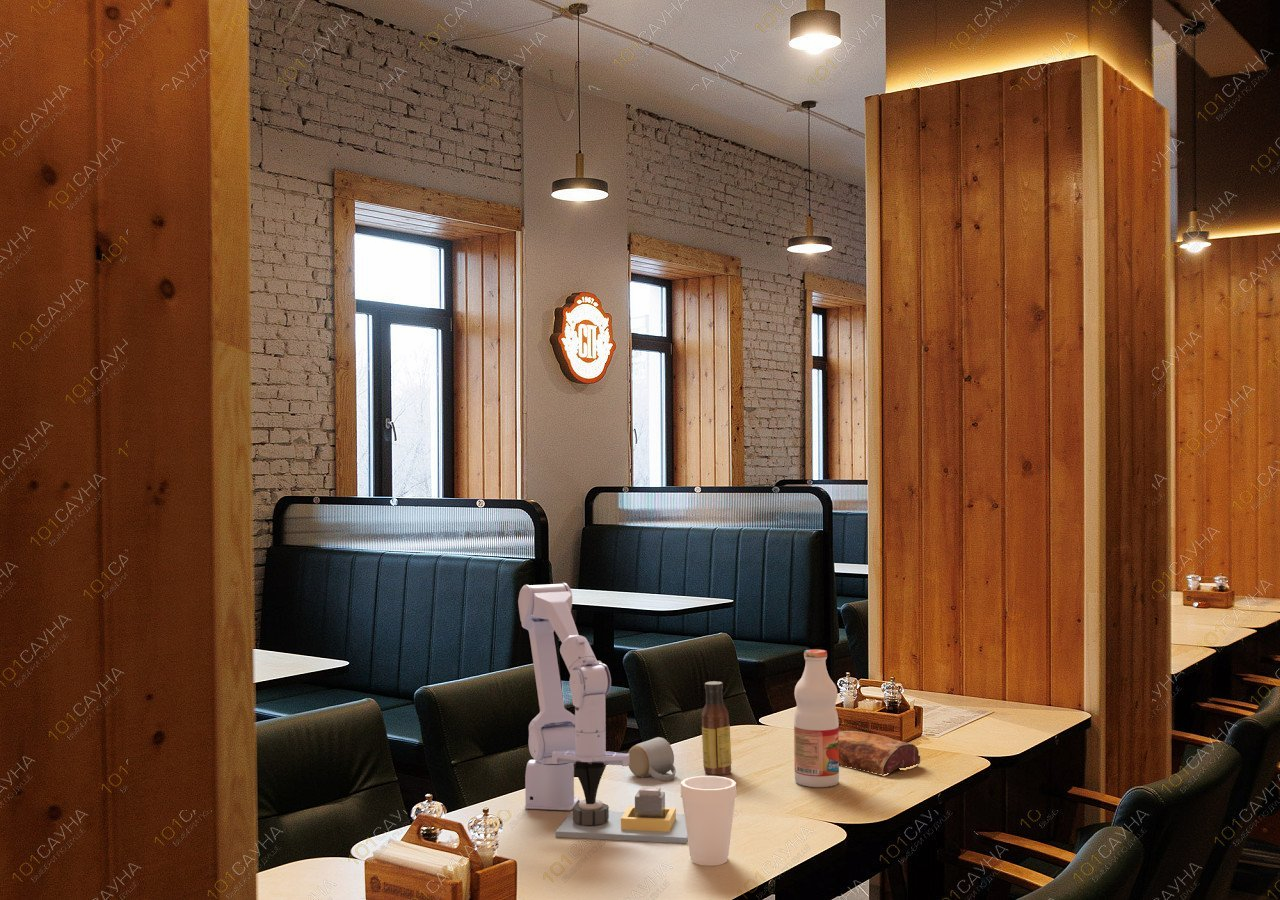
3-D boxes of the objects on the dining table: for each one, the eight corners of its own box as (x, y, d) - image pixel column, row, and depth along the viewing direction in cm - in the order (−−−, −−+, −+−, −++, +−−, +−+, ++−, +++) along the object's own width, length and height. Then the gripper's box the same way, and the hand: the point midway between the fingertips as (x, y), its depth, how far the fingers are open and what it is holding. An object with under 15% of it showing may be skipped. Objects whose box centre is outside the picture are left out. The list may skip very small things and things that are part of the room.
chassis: (555, 836, 209) (555, 818, 210) (573, 814, 223) (573, 797, 223) (686, 843, 205) (686, 824, 205) (696, 820, 219) (696, 802, 219)
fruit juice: (793, 776, 251) (792, 647, 252) (837, 777, 250) (836, 647, 251) (795, 787, 242) (794, 654, 242) (840, 788, 241) (839, 654, 241)
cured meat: (846, 745, 281) (845, 717, 281) (932, 764, 262) (931, 734, 262) (796, 759, 269) (795, 729, 269) (882, 779, 250) (881, 748, 250)
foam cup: (703, 847, 203) (703, 773, 204) (747, 857, 197) (746, 781, 198) (670, 861, 196) (670, 784, 196) (714, 872, 190) (714, 793, 190)
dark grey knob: (570, 824, 213) (570, 806, 213) (578, 814, 219) (577, 797, 219) (604, 825, 212) (604, 808, 212) (610, 815, 218) (610, 798, 218)
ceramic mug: (624, 775, 253) (624, 740, 253) (651, 768, 259) (651, 734, 259) (657, 785, 245) (658, 749, 245) (684, 778, 251) (685, 742, 251)
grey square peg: (635, 826, 212) (634, 791, 212) (638, 820, 216) (638, 785, 216) (661, 827, 211) (661, 792, 211) (665, 821, 215) (664, 786, 215)
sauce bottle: (731, 769, 257) (731, 680, 258) (731, 776, 251) (730, 685, 252) (702, 768, 258) (701, 679, 258) (701, 776, 252) (700, 684, 252)
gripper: (547, 733, 213) (547, 807, 213) (624, 735, 211) (624, 810, 210) (556, 725, 220) (557, 796, 220) (631, 727, 218) (631, 799, 217)
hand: (590, 802), depth 216 cm, fingers closed, pressing on dark grey knob
